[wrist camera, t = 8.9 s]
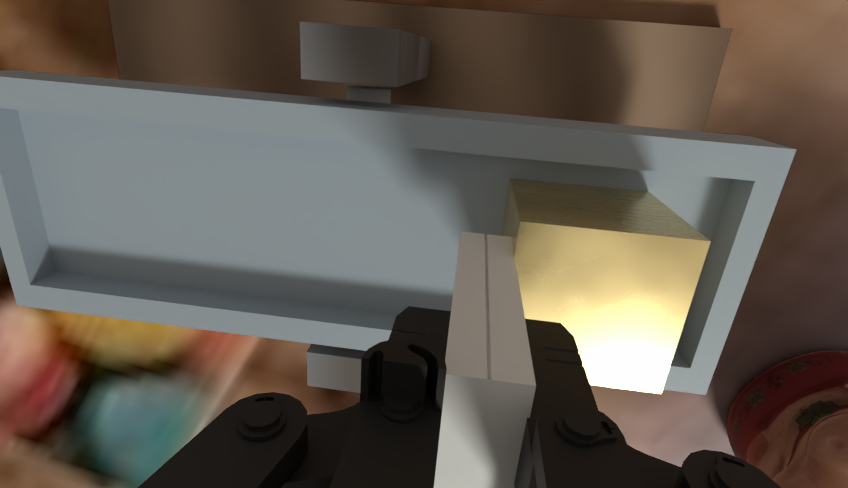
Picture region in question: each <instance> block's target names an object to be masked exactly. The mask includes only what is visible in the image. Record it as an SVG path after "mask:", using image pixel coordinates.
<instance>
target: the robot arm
mask: <svg viewBox="0 0 848 488" xmlns="http://www.w3.org/2000/svg"><path fill="white" fill-rule="evenodd" d="M138 488H781V487H780V486H779V485H778V484H777V483H776V482H774V481H773V480H772V479H771V478H770V477H768V476H767V475H766V474H765V473H764V472H763V471H761V470H760V469H758V468H756V467H755V466H753V465H751V464H749V463H748V462H746V461H744V460H742V459H740V458H738V457H735V456H732V455H729V454H726V453H723V452H719V451H709V450H701V451H697V452H694V453H690V455H689V456H688V457H687V458H686V459H685V461H684V462H683V464H682V467H678V466H676V465H673V464H670V463H668V462H665V461H662V460H660V459H657V458H654V457H652V456H649V455H647V454H644V453H642V452H640V451H638V450H636V449H634V448H632V447H630V446H629V445H627V443H626V441H625V438H624V436H623V434H622V433H621V431H620V429H619V428H618V426H617V425H616V423H614V422H613V421H612V420H611V419H610V418H609V417H607V416H606V415H605V414H604V413H602V412H600V411H598V408H597V405H596V402H595V399H594V396H593V393H592V390H591V387H590V384H589V381H588V378H587V375H586V372H585V369H584V367H583V363H582V360H581V357H580V354H579V351H578V348H577V345H576V342H575V339H574V336H573V335H572V334H571V333H570V332H569V331H568V330H567V329H566V328H565V327H564V326H563V325H562V324H561V323H557V322H549V321H541V320H532V319H525V316H524V310H523V304H522V298H521V292H520V287H519V281H518V275H517V269H516V263H515V257H514V252H513V246H512V240H511V237H508V236H499V235H489V234H480V233H471V232H462V231H461V232H460V240H459V248H458V257H457V265H456V273H455V282H454V290H453V298H452V307H451V311H445V310H437V309H428V308H420V307H412V306H408V307H407V308H406V309H405V310H403V311H402V312H401V313H400V314H398V315H397V316H396V318H395V321H394V324H393V328H392V332H391V334H390V337H389V340H388V341H383V342H379V343H378V344H376V345H374V346H372V347H370V348H369V349H368V350H367V351H366V352H365V354H364V355H363V356H362V357H361V388H360V402H359V403H357V404H356V405H354V406H352V407H349V408H347V409H344V410H341V411H336V412H330V413H322V414H312V415H307V410H306V409H305V407H304V406H303V404H302V403H301V401H299V400H297V399H295V398H293V397H292V396H290V395H287V394H281V393H275V392H271V393H261V394H255V395H252V396H249V397H246V398H243V399H240V400H239V401H237V402H236V403H234V404H233V405H231V406H230V407H228V408H227V409H225V410H224V411H223V412H222V413H221V414H220V415H219V416H218V417H217V418H215V419H214V420H213V421H212V422H211V423H210V424H209V425H208V426H206V427H205V428H204V429H203V430H202V431H201V432H200V433H199V434H197V435H196V436H195V437H194V438H193V439H192V440H191V441H190V442H189V443H187V444H186V445H185V446H184V447H183V448H182V449H181V450H180V451H178V452H177V453H176V454H175V455H174V456H173V457H172V458H171V459H169V460H168V461H167V462H166V463H165V464H164V465H163V466H162V467H161V468H159V469H158V470H157V471H156V472H155V473H154V474H153V475H152V476H150V477H149V478H148V479H147V480H146V481H145V482H144V483H143V484H141V485H140V486H139V487H138Z"/></svg>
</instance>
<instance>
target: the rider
mask: <svg viewBox="0 0 848 488" xmlns="http://www.w3.org/2000/svg"><path fill="white" fill-rule="evenodd" d="M501 236H508V237H511V240H512V246H513V252H514V257H515V263H516V269H517V275H518V281H519V287H520V292H521V298H522V304H523V310H524V316H525V319H532V320H541V321H549V322H557V323H561V324H562V325H563V326H564V327H565V328H566V329H567V330H568V331H569V332H570V333H571V334H572V335H573V336H574V339H575V342H576V345H577V348H578V351H579V354H580V357H581V360H582V363H583V367H584V369H585V372H586V375H587V378H588V381H589V384H590V385H595V386H603V387H611V388H618V389H626V390H634V391H642V392H649V393H657V394H662V391H663V388H664V384H665V381H666V378H667V375H668V372H669V369H670V366H671V363H672V360H673V357H674V354H675V351H676V347H677V344H678V341H679V338H680V335H681V332H682V329H683V326H684V323H685V320H686V317H687V314H688V310H689V307H690V304H691V301H692V298H693V295H694V292H695V289H696V286H697V283H698V280H699V277H700V273H701V270H702V267H703V264H704V261H705V258H706V255H707V252H708V249H709V246H710V243H711V241H710V240H709V239H707V238H706V237H705V236H704V235H702V234H701V233H700V232H699V231H697V230H696V229H695V228H694V227H692V226H691V225H690V224H689V223H687V222H686V221H685V220H684V219H682V218H681V217H680V216H679V215H677V214H676V213H675V212H674V211H672V210H671V209H670V208H669V207H667V206H666V205H665V204H663V203H662V202H661V201H660V200H658V199H657V198H656V197H655V196H653V195H652V194H651V193H650V192H648V191H638V190H628V189H617V188H607V187H597V186H587V185H577V184H566V183H556V182H546V181H536V180H526V179H515V178H509V185H508V192H507V199H506V206H505V213H504V220H503V227H502V234H501Z"/></svg>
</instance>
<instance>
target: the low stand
mask: <svg viewBox="0 0 848 488" xmlns="http://www.w3.org/2000/svg"><path fill="white" fill-rule="evenodd" d="M107 1H108V7H109V14H110V20H111V26H112V33H113V39H114V46H115V52H116V58H117V65H118V71H119V77H120V79H121V80H132V81H143V82H154V83H165V84H176V85H187V86H198V87H209V88H221V89H232V90H243V91H254V92H265V93H276V94H287V95H298V96H309V97H321V98H332V99H343V100H346V86H371V87H381V88H388V89H391V100H390V104H398V105H409V106H421V107H432V108H443V109H454V110H465V111H476V112H487V113H498V114H509V115H521V116H532V117H543V118H554V119H565V120H576V121H587V122H598V123H609V124H621V125H632V126H643V127H654V128H665V129H676V130H687V131H698V132H702V131H703V128H704V124H705V121H706V117H707V114H708V111H709V107H710V104H711V100H712V97H713V93H714V90H715V87H716V83H717V80H718V76H719V73H720V69H721V66H722V63H723V59H724V56H725V52H726V49H727V45H728V42H729V39H730V35H731V32H732V29H731V28H717V27H704V26H690V25H676V24H663V23H649V22H635V21H622V20H608V19H594V18H581V17H567V16H554V15H540V14H526V13H513V12H499V11H485V10H472V9H458V8H445V7H431V6H417V5H404V4H390V3H376V2H363V1H349V0H107ZM365 352H366V351H364V350H356V349H348V348H341V347H333V346H325V345H318V344H311V346H310V347H309V349H308V351H307V386H314V387H321V388H328V389H335V390H342V391H349V392H356V393H360V388H361V357H362V356H363V355H364V354H365Z"/></svg>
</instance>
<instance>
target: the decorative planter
mask: <svg viewBox="0 0 848 488" xmlns="http://www.w3.org/2000/svg"><path fill="white" fill-rule="evenodd" d="M727 432H728V438H729V441H730V444H731V447H732V450H733V452H734V454H735V456H736V457H738V458H740V459H742V460H744V461H746V462H748V463H749V464H751V465H753V466H755V467H756V468H758V469H760V470H761V471H763V472H764V473H765V474H766V475H767V476H768V477H770V478H771V479H772V480H773V481H774V482H776V483H777V484H778V485H779V486H780V487H781V488H848V351H839V350H828V351H818V352H812V353H809V354H805V355H801V356H798V357H795V358H792V359H789V360H786V361H784V362H781V363H779V364H777V365H775V366H773V367H771V368H769V369H768V370H766V371H765V372H763V373H762V374H760V375H759V376H758V377H756V378H755V379H753V380H752V381H751V382H750V383H749V384H748V385H747V386H746V387H744V388H743V390H742V391H741V392H740V393H739V394H738V396H737V397H736V399H735V400H734V402H733V404H732V406H731V408H730V411H729V416H728V422H727Z"/></svg>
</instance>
